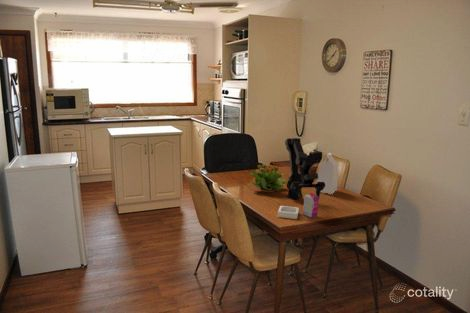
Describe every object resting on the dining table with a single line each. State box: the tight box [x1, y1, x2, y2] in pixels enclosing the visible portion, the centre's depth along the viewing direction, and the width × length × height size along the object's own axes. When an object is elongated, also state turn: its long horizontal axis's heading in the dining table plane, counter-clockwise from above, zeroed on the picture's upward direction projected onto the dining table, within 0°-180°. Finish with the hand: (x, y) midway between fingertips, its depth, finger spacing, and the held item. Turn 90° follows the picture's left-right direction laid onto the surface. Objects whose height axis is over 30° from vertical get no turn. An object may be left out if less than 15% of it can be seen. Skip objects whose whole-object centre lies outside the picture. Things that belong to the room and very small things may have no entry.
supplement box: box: [302, 193, 320, 219], centre depth 201 cm, size 6×6×12 cm
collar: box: [277, 205, 300, 220], centre depth 202 cm, size 10×10×3 cm
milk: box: [314, 152, 339, 195], centre depth 248 cm, size 12×12×26 cm
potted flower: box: [249, 163, 287, 193], centre depth 245 cm, size 25×24×18 cm
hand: (310, 199), depth 202 cm, fingers open, 9 cm apart
